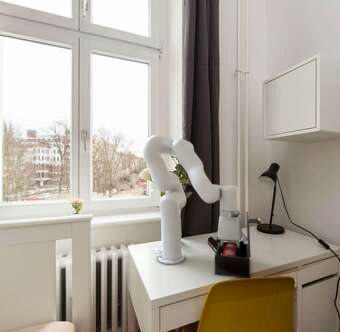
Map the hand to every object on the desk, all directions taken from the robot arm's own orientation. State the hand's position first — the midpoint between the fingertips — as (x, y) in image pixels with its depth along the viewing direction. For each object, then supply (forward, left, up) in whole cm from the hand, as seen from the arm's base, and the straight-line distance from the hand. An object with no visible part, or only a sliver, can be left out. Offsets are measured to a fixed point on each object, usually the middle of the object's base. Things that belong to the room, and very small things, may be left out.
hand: (229, 254), depth 96 cm
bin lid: (+7, 0, +10) cm, 13 cm away
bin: (+1, 0, -5) cm, 5 cm away
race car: (0, 0, -1) cm, 1 cm away
